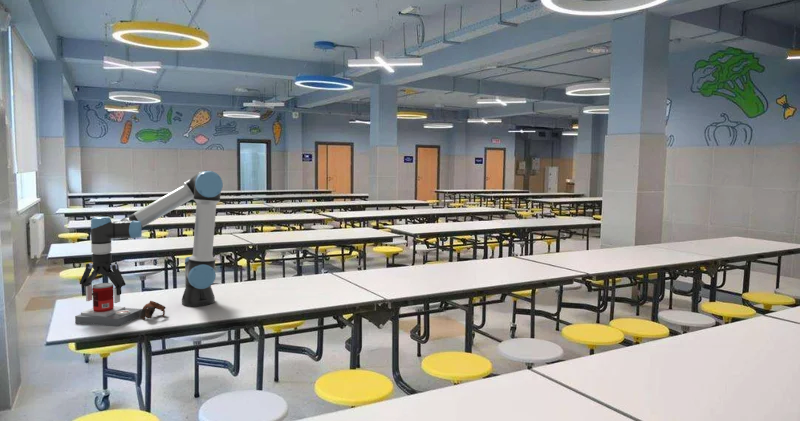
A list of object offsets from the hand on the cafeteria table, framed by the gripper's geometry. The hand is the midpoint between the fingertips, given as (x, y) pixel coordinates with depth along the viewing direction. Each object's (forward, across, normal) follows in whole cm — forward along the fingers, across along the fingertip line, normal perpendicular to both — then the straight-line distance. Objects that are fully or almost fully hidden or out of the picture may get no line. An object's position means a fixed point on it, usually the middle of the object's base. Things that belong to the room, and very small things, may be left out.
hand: (103, 301), depth 232 cm
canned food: (+4, 0, 0) cm, 4 cm away
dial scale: (+8, -3, 0) cm, 8 cm away
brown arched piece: (+8, -19, -6) cm, 21 cm away
